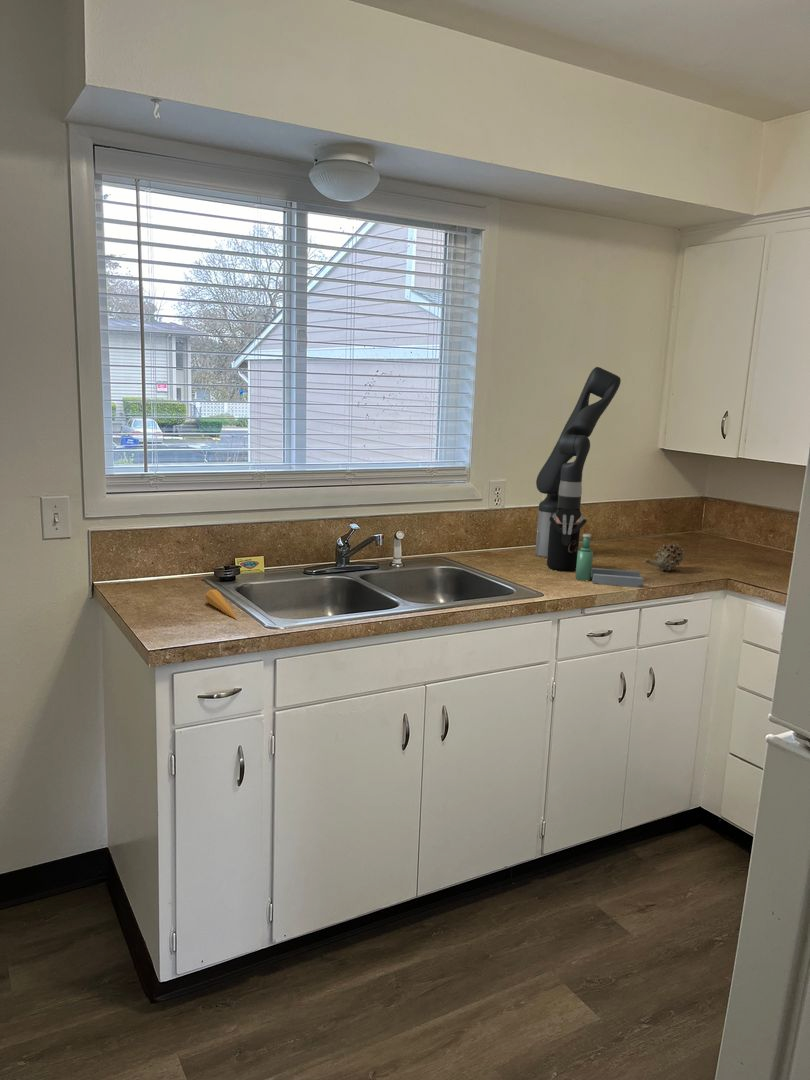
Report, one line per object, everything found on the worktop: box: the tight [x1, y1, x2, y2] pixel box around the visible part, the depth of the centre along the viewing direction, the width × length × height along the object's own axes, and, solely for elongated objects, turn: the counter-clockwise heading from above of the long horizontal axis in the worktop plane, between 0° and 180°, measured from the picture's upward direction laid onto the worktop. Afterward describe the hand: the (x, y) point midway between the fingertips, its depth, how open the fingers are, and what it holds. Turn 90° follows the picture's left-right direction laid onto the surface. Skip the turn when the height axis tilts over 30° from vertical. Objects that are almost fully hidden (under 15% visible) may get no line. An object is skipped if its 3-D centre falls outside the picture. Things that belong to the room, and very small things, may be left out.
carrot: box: [205, 589, 237, 620], centre depth 227 cm, size 20×4×4 cm, turn 33°
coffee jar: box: [546, 517, 581, 572], centre depth 294 cm, size 11×11×18 cm
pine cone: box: [643, 542, 685, 572], centre depth 297 cm, size 22×10×10 cm, turn 135°
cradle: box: [591, 567, 644, 589], centre depth 279 cm, size 16×11×3 cm
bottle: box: [574, 532, 594, 581], centre depth 279 cm, size 5×5×16 cm
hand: (565, 544), depth 280 cm, fingers closed
